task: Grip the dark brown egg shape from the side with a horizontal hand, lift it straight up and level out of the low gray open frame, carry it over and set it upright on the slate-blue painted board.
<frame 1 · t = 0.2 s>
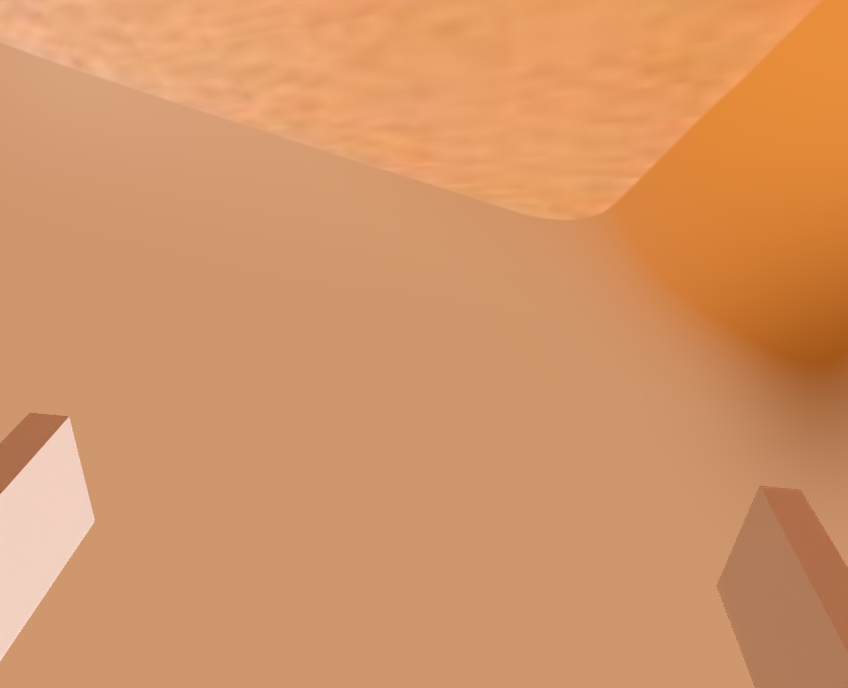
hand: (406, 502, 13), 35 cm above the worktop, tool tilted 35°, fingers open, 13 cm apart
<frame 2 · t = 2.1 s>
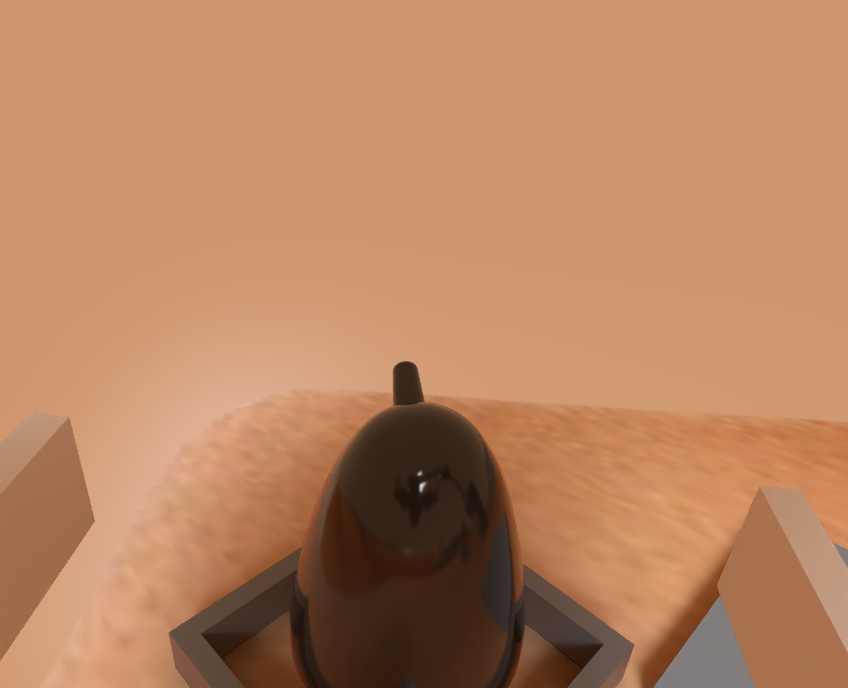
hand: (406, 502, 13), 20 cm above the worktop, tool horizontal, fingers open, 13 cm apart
gray open frame: (402, 672, 32), on the worktop
dark brown egg shape: (402, 675, 32), resting in gray open frame
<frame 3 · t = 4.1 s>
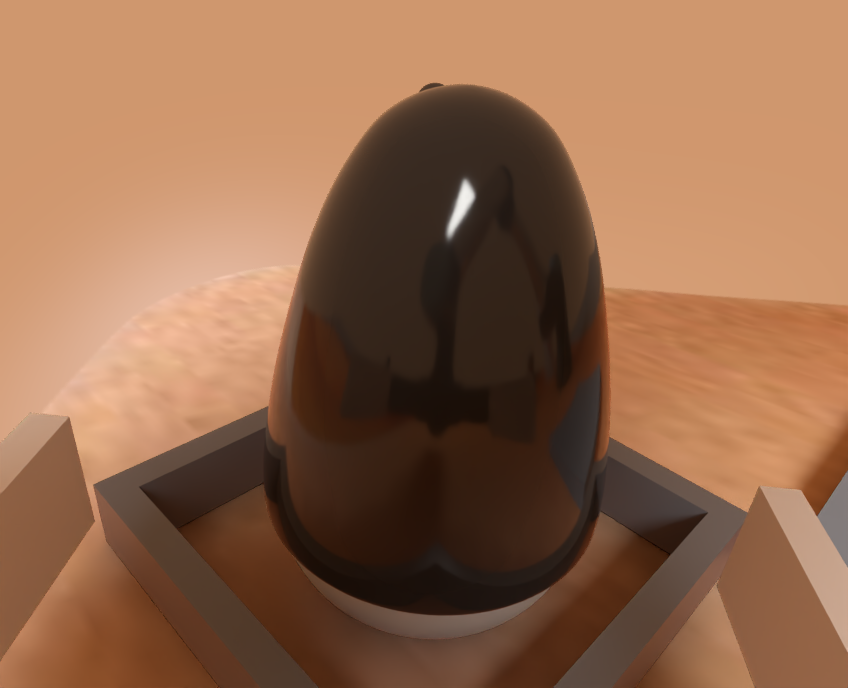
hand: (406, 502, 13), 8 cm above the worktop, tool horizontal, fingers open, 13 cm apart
gray open frame: (423, 554, 23), on the worktop
dark brown egg shape: (423, 558, 23), resting in gray open frame
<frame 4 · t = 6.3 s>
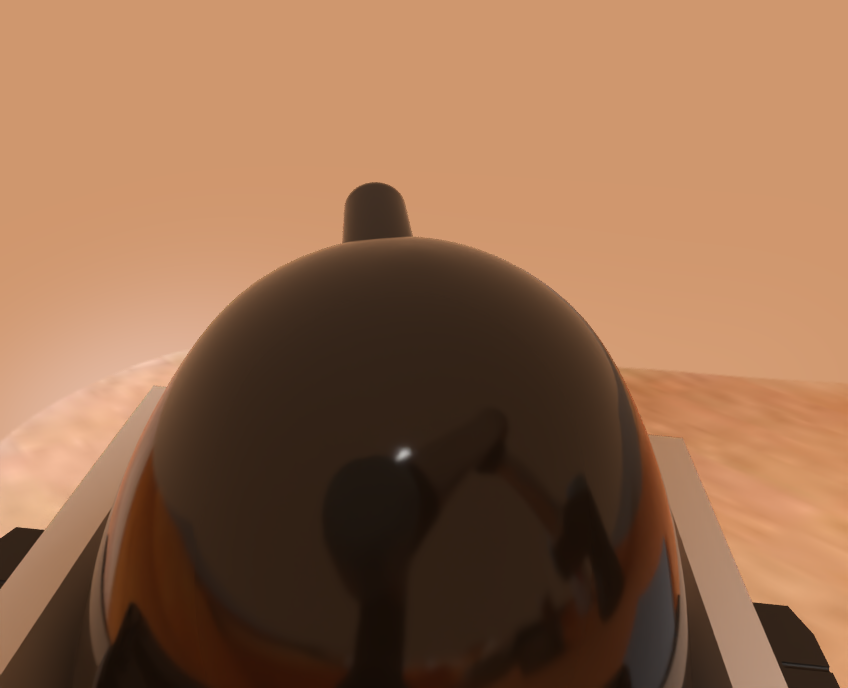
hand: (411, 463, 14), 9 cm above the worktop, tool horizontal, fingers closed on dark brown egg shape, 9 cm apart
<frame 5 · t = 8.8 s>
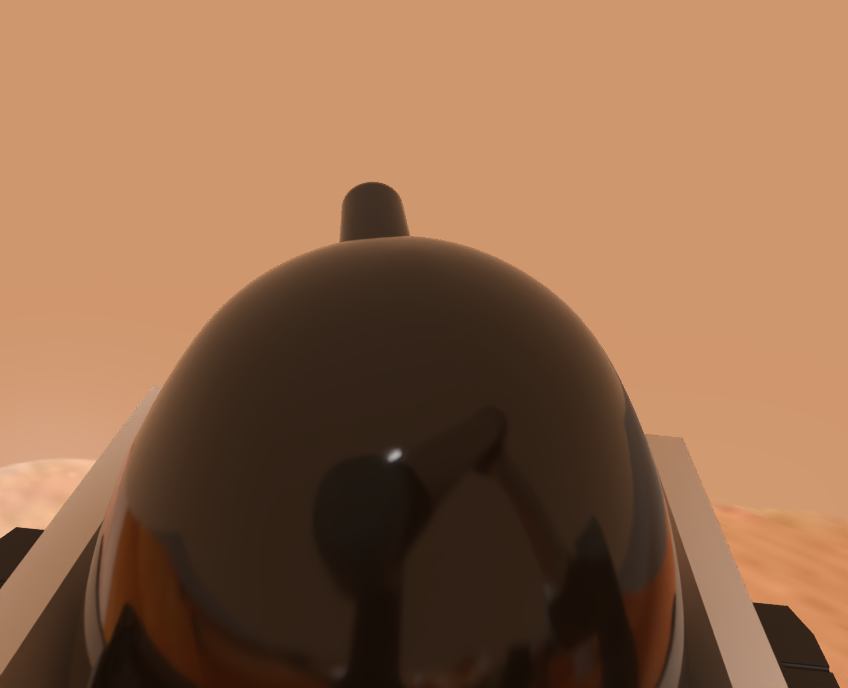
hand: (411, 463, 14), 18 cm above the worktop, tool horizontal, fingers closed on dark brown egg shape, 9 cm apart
when the fingers open (11 cm above the worktop, at t = 11.2 s): dark brown egg shape drops 1 cm, resting on slate-blue board.
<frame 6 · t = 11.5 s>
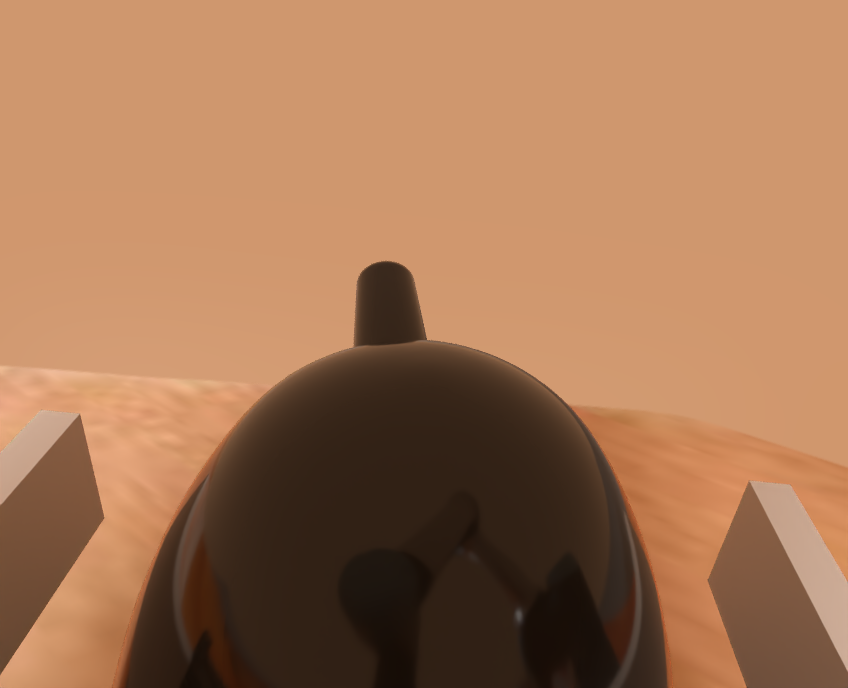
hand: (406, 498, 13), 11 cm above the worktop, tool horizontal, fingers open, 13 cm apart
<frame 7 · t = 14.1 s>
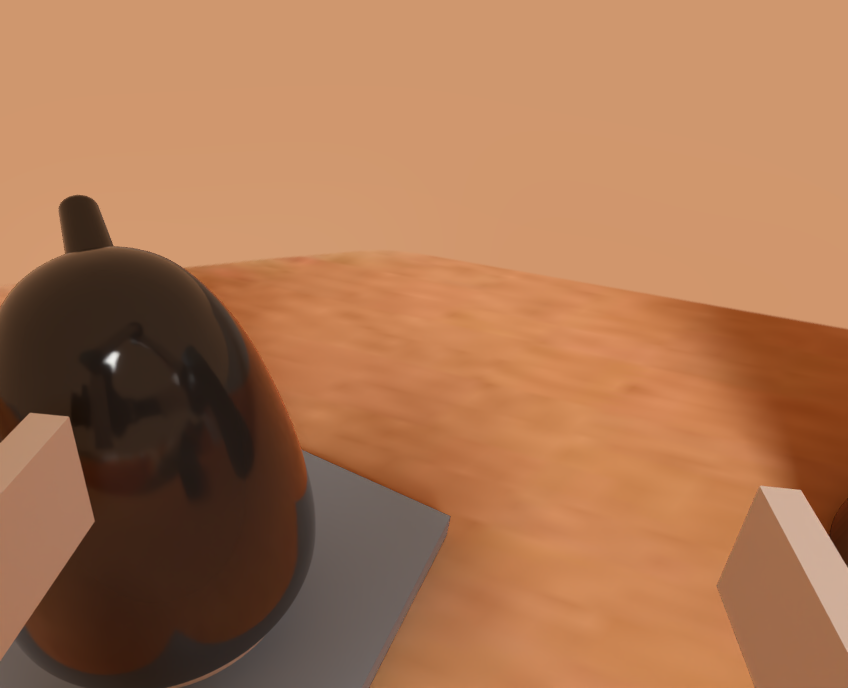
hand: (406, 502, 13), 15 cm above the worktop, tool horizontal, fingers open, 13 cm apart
slate-blue board: (186, 606, 27), on the worktop
dark brown egg shape: (182, 592, 26), point 1 cm above the worktop, touching slate-blue board
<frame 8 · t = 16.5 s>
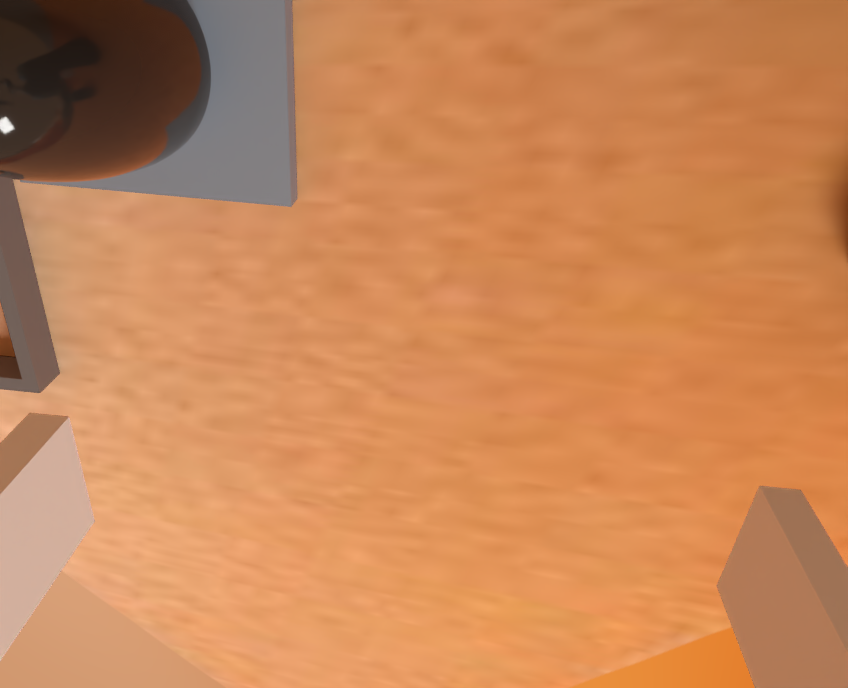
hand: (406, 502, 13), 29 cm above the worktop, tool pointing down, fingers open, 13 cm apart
slate-blue board: (147, 41, 36), on the worktop
dark brown egg shape: (138, 46, 35), point 1 cm above the worktop, touching slate-blue board
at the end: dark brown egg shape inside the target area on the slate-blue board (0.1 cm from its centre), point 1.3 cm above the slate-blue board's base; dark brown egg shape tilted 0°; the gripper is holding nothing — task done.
